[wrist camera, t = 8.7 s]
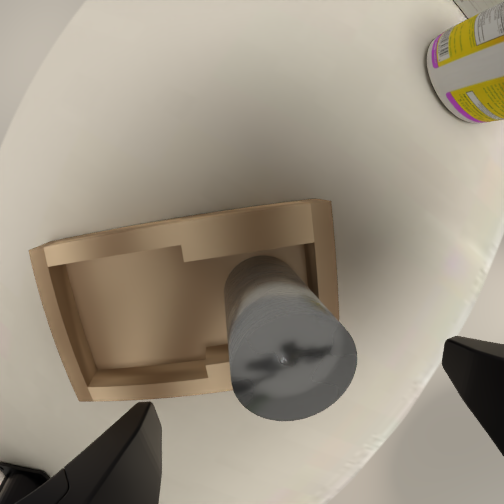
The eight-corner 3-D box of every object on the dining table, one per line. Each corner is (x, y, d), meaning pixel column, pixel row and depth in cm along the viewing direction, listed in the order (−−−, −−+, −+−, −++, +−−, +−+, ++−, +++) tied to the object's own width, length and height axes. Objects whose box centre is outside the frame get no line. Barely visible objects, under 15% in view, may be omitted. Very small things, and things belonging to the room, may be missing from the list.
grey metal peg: (230, 331, 18) (241, 429, 10) (218, 261, 17) (220, 325, 9) (301, 320, 18) (355, 405, 10) (295, 250, 17) (356, 301, 9)
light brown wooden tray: (91, 379, 18) (79, 401, 15) (50, 241, 16) (28, 250, 13) (326, 348, 19) (340, 369, 17) (315, 198, 17) (331, 200, 15)
